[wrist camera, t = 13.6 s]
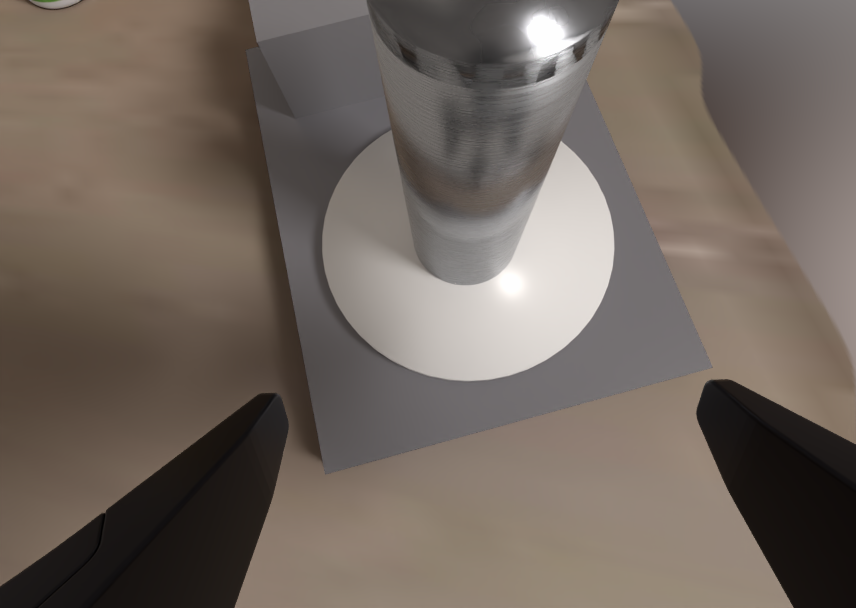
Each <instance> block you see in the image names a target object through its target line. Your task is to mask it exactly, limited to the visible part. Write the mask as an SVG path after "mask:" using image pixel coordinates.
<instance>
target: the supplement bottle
mask: <svg viewBox="0 0 856 608" xmlns="http://www.w3.org/2000/svg"><path fill="white" fill-rule="evenodd" d="M29 1H31V2H32V3H34V4H35V5H37V6H40V7H43V8H48V9H59V8H64V7H68V6H71V5H73V4H76V3H78V2H79V1H81V0H29Z"/></svg>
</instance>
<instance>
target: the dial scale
mask: <svg viewBox="0 0 856 608" xmlns="http://www.w3.org/2000/svg"><path fill="white" fill-rule="evenodd" d="M249 5H250V10H251V16H252V21H253V26H254V31H255V36H256V41H257V44H258V46H259V47H255V48H251V49H247V50H246V55H247V60H248V66H249V71H250V76H251V82H252V87H253V92H254V98H255V103H256V108H257V114H258V119H259V124H260V130H261V135H262V140H263V146H264V151H265V156H266V162H267V167H268V172H269V178H270V183H271V188H272V194H273V199H274V204H275V210H276V215H277V220H278V226H279V231H280V236H281V242H282V247H283V252H284V258H285V263H286V268H287V274H288V279H289V284H290V290H291V295H292V300H293V306H294V311H295V316H296V322H297V327H298V332H299V338H300V343H301V348H302V354H303V359H304V364H305V370H306V375H307V380H308V386H309V391H310V396H311V402H312V407H313V413H314V418H315V423H316V429H317V434H318V439H319V445H320V450H321V455H322V461H323V466H324V471H325V474H329V473H332V472H336V471H339V470H343V469H347V468H350V467H354V466H358V465H361V464H365V463H368V462H372V461H376V460H379V459H383V458H387V457H390V456H394V455H397V454H401V453H405V452H408V451H412V450H416V449H419V448H423V447H426V446H430V445H434V444H437V443H441V442H445V441H448V440H452V439H455V438H459V437H463V436H466V435H470V434H474V433H477V432H481V431H485V430H488V429H492V428H495V427H499V426H503V425H506V424H510V423H514V422H517V421H521V420H524V419H528V418H532V417H535V416H539V415H543V414H546V413H550V412H553V411H557V410H561V409H564V408H568V407H572V406H575V405H579V404H582V403H586V402H590V401H593V400H597V399H601V398H604V397H608V396H611V395H615V394H619V393H622V392H626V391H630V390H633V389H637V388H640V387H644V386H648V385H651V384H655V383H659V382H662V381H666V380H669V379H673V378H677V377H680V376H684V375H688V374H691V373H695V372H698V371H702V370H706V369H709V368H713V367H712V365H711V362H710V360H709V358H708V356H707V353H706V351H705V349H704V347H703V344H702V342H701V340H700V337H699V335H698V333H697V331H696V328H695V326H694V324H693V322H692V319H691V317H690V315H689V312H688V310H687V308H686V306H685V303H684V301H683V299H682V297H681V294H680V292H679V290H678V287H677V285H676V283H675V281H674V278H673V276H672V274H671V272H670V269H669V267H668V265H667V262H666V260H665V258H664V256H663V253H662V251H661V249H660V247H659V244H658V242H657V240H656V237H655V235H654V233H653V231H652V228H651V226H650V224H649V221H648V219H647V217H646V215H645V212H644V210H643V208H642V206H641V203H640V201H639V199H638V196H637V194H636V192H635V190H634V187H633V185H632V183H631V181H630V178H629V176H628V174H627V171H626V169H625V167H624V165H623V162H622V160H621V158H620V156H619V153H618V151H617V149H616V146H615V144H614V142H613V140H612V137H611V135H610V133H609V131H608V128H607V126H606V124H605V121H604V119H603V117H602V115H601V112H600V110H599V108H598V106H597V103H596V101H595V99H594V96H593V94H592V92H591V90H590V87H589V85H588V83H587V81H585V84H584V86H583V89H582V91H581V93H580V96H579V98H578V101H577V103H576V105H575V108H574V110H573V113H572V115H571V118H570V120H569V122H568V125H567V127H566V130H565V132H564V135H563V137H562V139H561V142H560V144H559V147H558V149H557V151H556V154H555V156H554V159H553V161H552V164H551V166H550V168H549V171H548V173H547V176H546V178H545V181H544V183H543V185H542V188H541V190H540V193H539V195H538V198H537V200H536V202H535V205H534V207H533V210H532V212H531V214H530V217H529V219H528V222H527V224H526V227H525V229H524V231H523V234H522V236H521V239H520V241H519V244H518V246H517V248H516V251H515V253H514V256H513V258H512V260H511V261H510V263H509V264H508V266H507V267H506V268H505V269H504V270H503V271H502V272H501V273H500V274H498V275H497V276H496V277H494V278H492V279H490V280H488V281H486V282H483V283H480V284H476V285H455V284H451V283H448V282H445V281H442V280H440V279H439V278H437V277H435V276H434V275H432V274H431V273H430V272H429V271H428V270H427V269H426V268H425V267H424V266H423V265H422V263H421V262H420V260H419V258H418V256H417V254H416V251H415V247H414V243H413V238H412V233H411V228H410V223H409V217H408V212H407V207H406V202H405V197H404V192H403V186H402V181H401V176H400V171H399V166H398V161H397V156H396V150H395V145H394V140H393V135H392V130H391V125H390V120H389V114H388V109H387V104H386V99H385V94H384V89H383V84H382V78H381V73H380V68H379V63H378V58H377V53H376V48H375V42H374V37H373V32H372V27H371V22H370V17H369V12H368V6H367V1H366V0H249Z"/></svg>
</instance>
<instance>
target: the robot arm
mask: <svg viewBox="0 0 856 608" xmlns="http://www.w3.org/2000/svg"><path fill="white" fill-rule="evenodd" d="M696 414H697V420H698V423H699V425H700V428H701V430H702V432H703V434H704V437H705V439H706V441H707V444H708V446H709V448H710V451H711V453H712V455H713V458H714V460H715V462H716V465H717V467H718V469H719V471H720V474H721V476H722V478H723V481H724V483H725V485H726V487H727V489H728V491H729V493H730V495H731V497H732V498H733V500H734V502H735V504H736V506H737V508H738V509H739V511H740V513H741V515H742V516H743V518H744V520H745V522H746V524H747V525H748V527H749V529H750V531H751V533H752V534H753V536H754V538H755V540H756V541H757V543H758V545H759V547H760V549H761V550H762V552H763V554H764V556H765V557H766V559H767V561H768V563H769V565H770V566H771V568H772V570H773V572H774V573H775V575H776V577H777V579H778V581H779V582H780V584H781V586H782V588H783V589H784V591H785V593H786V595H787V597H788V598H789V600H790V602H791V604H792V606H793V607H794V608H856V444H854V443H852V442H850V441H848V440H846V439H844V438H842V437H841V436H839V435H837V434H835V433H833V432H831V431H829V430H827V429H825V428H823V427H821V426H819V425H817V424H815V423H813V422H812V421H810V420H808V419H806V418H804V417H802V416H800V415H798V414H796V413H794V412H792V411H790V410H788V409H786V408H784V407H783V406H781V405H779V404H777V403H775V402H773V401H771V400H769V399H767V398H765V397H763V396H761V395H759V394H757V393H755V392H754V391H752V390H750V389H748V388H746V387H744V386H742V385H740V384H738V383H736V382H734V381H732V380H728V379H720V380H709V381H707V382H706V383H705V385H704V388H703V391H702V394H701V397H700V401H699V404H698V407H697V412H696ZM288 427H289V424H288V419H287V415H286V412H285V409H284V405H283V402H282V399H281V396H280V395H279V394H277V393H262V394H259V395H257V396H256V397H254V398H253V399H252V400H250V401H249V402H248V403H246V404H245V405H244V406H242V407H241V408H240V409H238V410H237V411H236V412H234V413H233V414H232V415H231V416H229V417H228V418H227V419H225V420H224V421H223V422H221V423H220V424H219V425H217V426H216V427H215V428H213V429H212V430H211V431H209V432H208V433H207V434H206V435H204V436H203V437H202V438H200V439H199V440H198V441H196V442H195V443H194V444H192V445H191V446H190V447H188V448H187V449H186V450H184V451H183V452H182V453H181V454H179V455H178V456H177V457H175V458H174V459H173V460H171V461H170V462H169V463H167V464H166V465H165V466H163V467H162V468H161V469H160V470H158V471H157V472H156V473H154V474H153V475H152V476H150V477H149V478H148V479H146V480H145V481H144V482H142V483H141V484H140V485H138V486H137V487H136V488H134V489H133V490H132V491H131V492H129V493H128V494H127V495H125V496H124V497H123V498H121V499H120V500H119V501H117V502H116V503H115V504H113V505H112V506H111V507H109V508H108V509H107V510H106V512H105V513H102V514H100V515H99V516H97V517H96V518H95V519H94V520H92V521H91V522H90V523H88V524H87V525H86V526H84V527H83V528H82V529H80V530H79V531H78V532H76V533H75V534H74V535H72V536H71V537H69V538H68V539H67V540H65V541H64V542H63V543H61V544H60V545H59V546H57V547H56V548H55V549H53V550H52V551H50V552H49V553H48V554H46V555H45V556H43V557H42V558H41V559H39V560H38V561H36V562H35V563H33V564H32V565H31V566H29V567H28V568H26V569H25V570H23V571H22V572H21V573H19V574H18V575H16V576H15V577H13V578H12V579H10V580H9V581H8V582H6V583H5V584H3V585H2V586H0V608H234V607H235V604H236V602H237V599H238V596H239V593H240V590H241V587H242V584H243V581H244V579H245V576H246V573H247V570H248V567H249V564H250V561H251V559H252V556H253V553H254V550H255V547H256V544H257V541H258V539H259V536H260V533H261V530H262V527H263V524H264V521H265V518H266V516H267V513H268V510H269V507H270V504H271V501H272V498H273V494H274V490H275V486H276V482H277V477H278V473H279V469H280V464H281V460H282V456H283V451H284V447H285V443H286V438H287V434H288Z"/></svg>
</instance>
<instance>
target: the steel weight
mask: <svg viewBox="0 0 856 608" xmlns="http://www.w3.org/2000/svg"><path fill="white" fill-rule="evenodd" d="M366 1H367V6H368V12H369V17H370V22H371V27H372V32H373V37H374V42H375V48H376V53H377V58H378V63H379V68H380V73H381V78H382V84H383V89H384V94H385V99H386V104H387V109H388V114H389V120H390V125H391V130H392V135H393V140H394V145H395V150H396V156H397V161H398V166H399V171H400V176H401V181H402V186H403V192H404V197H405V202H406V207H407V212H408V217H409V223H410V228H411V233H412V238H413V243H414V247H415V251H416V254H417V256H418V258H419V260H420V262H421V263H422V265H423V266H424V267H425V268H426V269H427V270H428V271H429V272H430V273H431V274H432V275H434V276H435V277H437V278H439V279H440V280H442V281H445V282H448V283H451V284H455V285H476V284H480V283H483V282H486V281H488V280H490V279H492V278H494V277H496V276H497V275H498V274H500V273H501V272H502V271H503V270H504V269H505V268H506V267H507V266H508V264H509V263H510V261H511V260H512V258H513V256H514V253H515V251H516V248H517V246H518V244H519V241H520V239H521V236H522V234H523V231H524V229H525V227H526V224H527V222H528V219H529V217H530V214H531V212H532V210H533V207H534V205H535V202H536V200H537V198H538V195H539V193H540V190H541V188H542V185H543V183H544V181H545V178H546V176H547V173H548V171H549V168H550V166H551V164H552V161H553V159H554V156H555V154H556V151H557V149H558V147H559V144H560V142H561V139H562V137H563V135H564V132H565V130H566V127H567V125H568V122H569V120H570V118H571V115H572V113H573V110H574V108H575V105H576V103H577V101H578V98H579V96H580V93H581V91H582V89H583V86H584V84H585V81H586V79H587V76H588V74H589V72H590V69H591V67H592V64H593V62H594V59H595V57H596V55H597V52H598V50H599V47H600V45H601V43H602V40H603V38H604V35H605V33H606V30H607V28H608V26H609V23H610V21H611V18H612V16H613V13H614V11H615V9H616V6H617V4H618V1H619V0H366Z"/></svg>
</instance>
